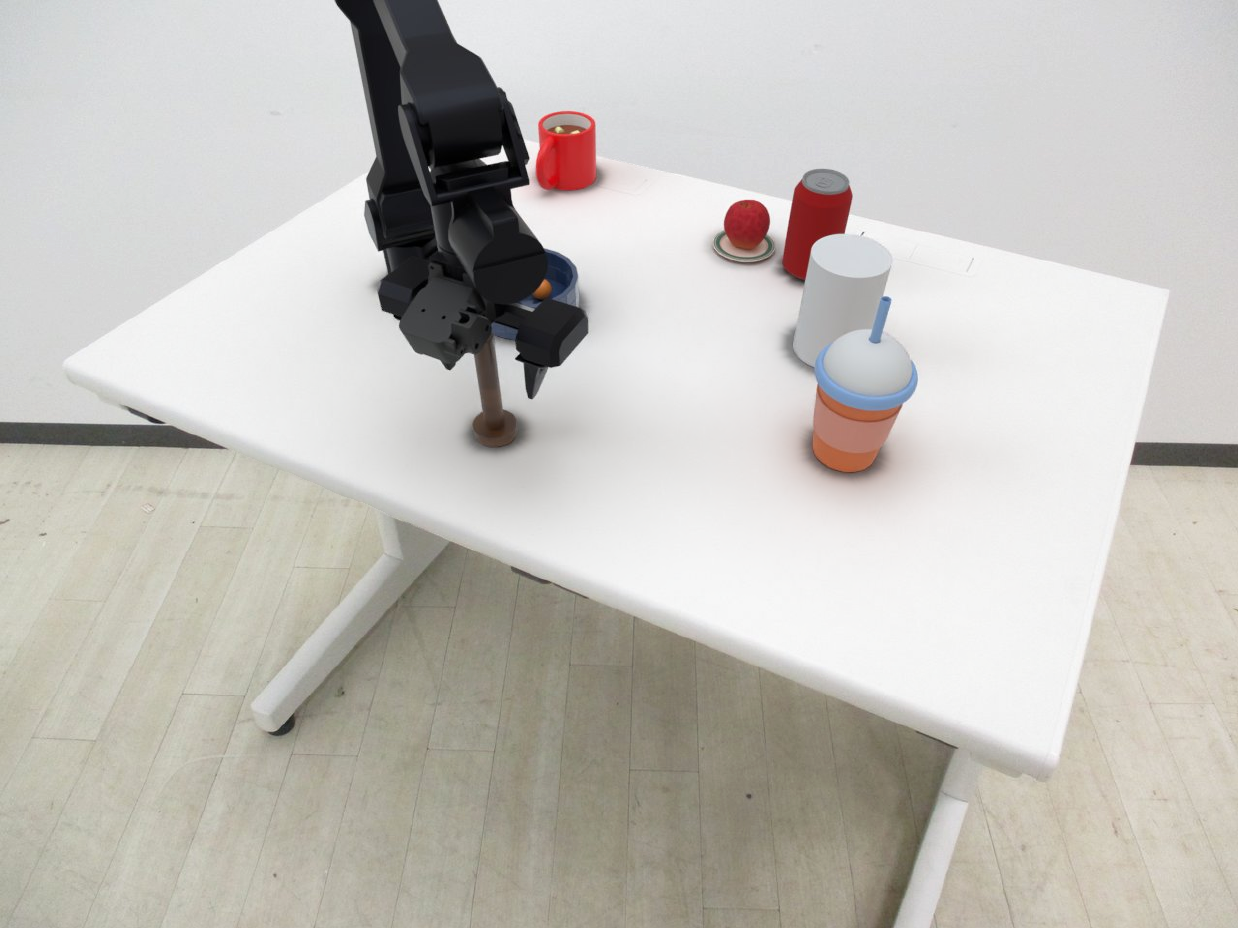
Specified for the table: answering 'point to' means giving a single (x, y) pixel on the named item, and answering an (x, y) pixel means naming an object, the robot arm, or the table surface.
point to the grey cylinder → (840, 291)
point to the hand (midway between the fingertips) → (491, 382)
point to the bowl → (562, 285)
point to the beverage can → (815, 215)
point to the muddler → (491, 402)
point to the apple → (745, 233)
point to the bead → (543, 290)
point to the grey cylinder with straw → (860, 394)
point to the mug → (566, 151)
